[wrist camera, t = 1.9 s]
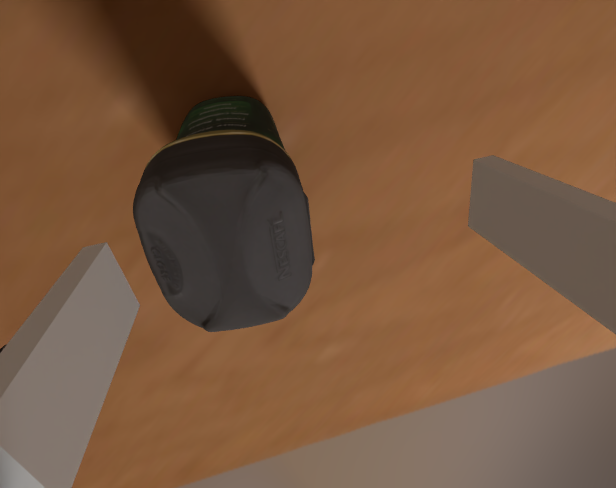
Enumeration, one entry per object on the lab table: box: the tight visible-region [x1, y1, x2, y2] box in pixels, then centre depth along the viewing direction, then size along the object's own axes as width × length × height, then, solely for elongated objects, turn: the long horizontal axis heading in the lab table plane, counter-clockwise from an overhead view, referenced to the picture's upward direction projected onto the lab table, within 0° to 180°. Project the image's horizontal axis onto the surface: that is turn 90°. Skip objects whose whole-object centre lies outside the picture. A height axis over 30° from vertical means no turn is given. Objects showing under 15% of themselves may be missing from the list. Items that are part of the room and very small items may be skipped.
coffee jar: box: [133, 96, 315, 332], centre depth 23 cm, size 10×8×19 cm
